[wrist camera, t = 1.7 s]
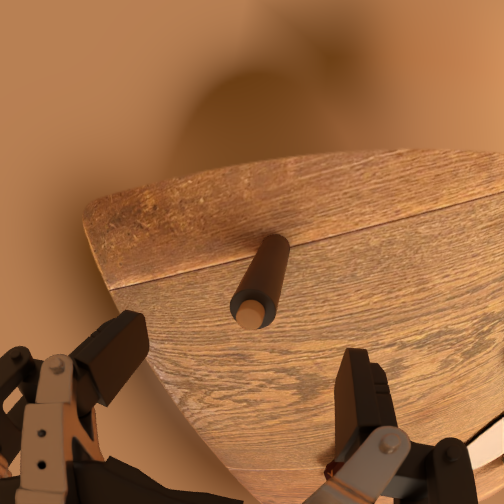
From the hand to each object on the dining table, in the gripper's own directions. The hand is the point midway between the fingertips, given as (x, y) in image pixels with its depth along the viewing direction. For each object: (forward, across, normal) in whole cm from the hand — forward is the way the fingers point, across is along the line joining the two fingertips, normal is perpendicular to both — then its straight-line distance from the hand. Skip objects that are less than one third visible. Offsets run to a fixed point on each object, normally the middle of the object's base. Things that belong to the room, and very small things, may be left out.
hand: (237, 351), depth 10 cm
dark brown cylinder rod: (+12, 0, 0) cm, 12 cm away
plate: (+12, -49, +32) cm, 60 cm away
